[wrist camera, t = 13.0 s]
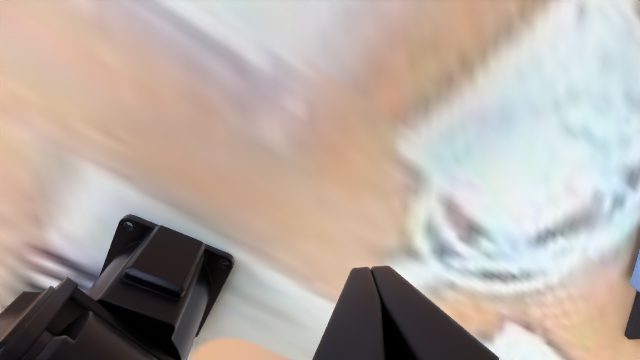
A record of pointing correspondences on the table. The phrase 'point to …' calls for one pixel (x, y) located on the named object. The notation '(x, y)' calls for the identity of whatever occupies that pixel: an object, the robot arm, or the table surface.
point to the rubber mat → (634, 320)
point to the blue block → (636, 275)
